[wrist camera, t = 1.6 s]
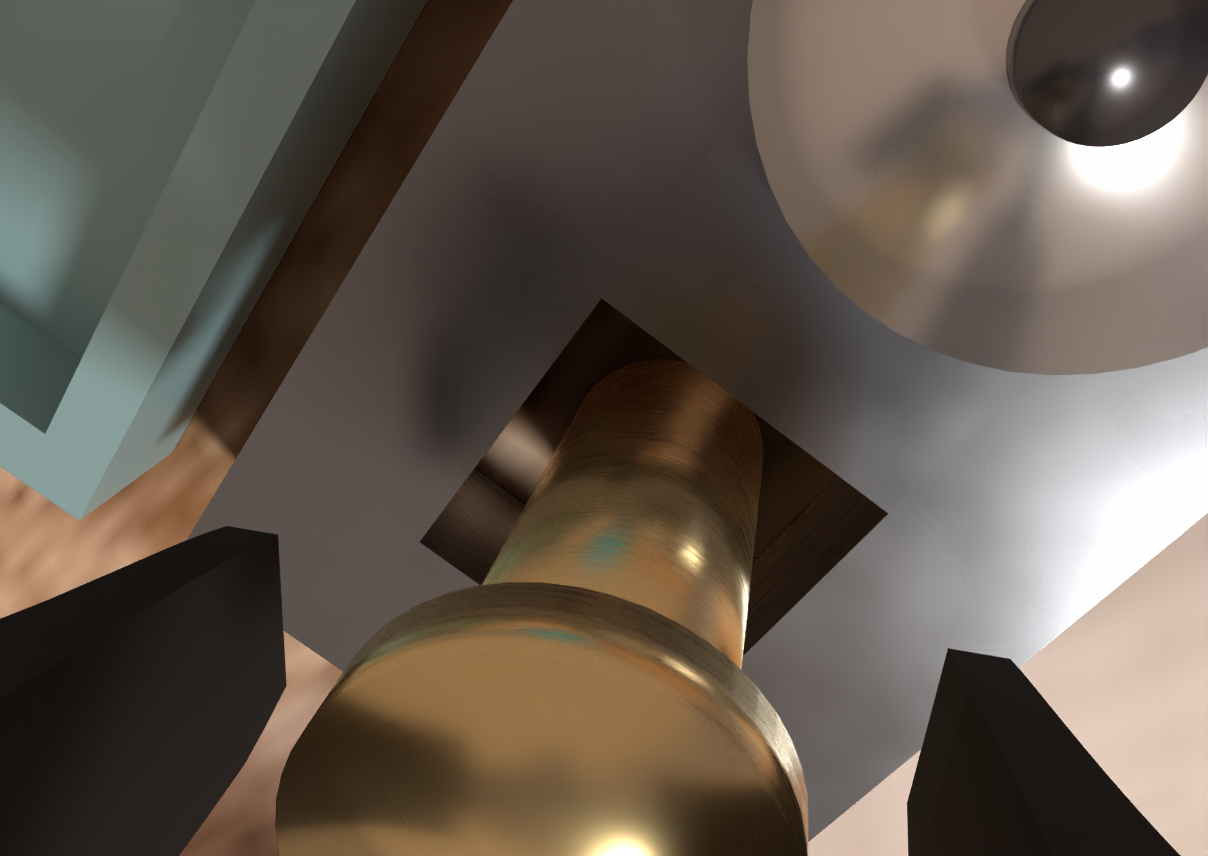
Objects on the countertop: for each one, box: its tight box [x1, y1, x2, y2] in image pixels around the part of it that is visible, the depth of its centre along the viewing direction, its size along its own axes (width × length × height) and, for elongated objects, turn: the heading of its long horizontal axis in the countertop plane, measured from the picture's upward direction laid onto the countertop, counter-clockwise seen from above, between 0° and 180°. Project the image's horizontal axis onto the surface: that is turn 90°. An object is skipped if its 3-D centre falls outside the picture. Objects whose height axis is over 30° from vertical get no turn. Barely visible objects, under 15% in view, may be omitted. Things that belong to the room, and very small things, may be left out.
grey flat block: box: [187, 0, 1208, 842], centre depth 13 cm, size 10×16×4 cm, turn 145°
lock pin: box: [275, 359, 808, 856], centre depth 12 cm, size 4×4×8 cm
